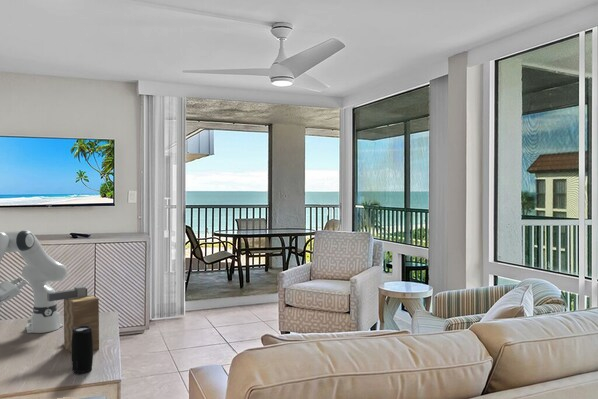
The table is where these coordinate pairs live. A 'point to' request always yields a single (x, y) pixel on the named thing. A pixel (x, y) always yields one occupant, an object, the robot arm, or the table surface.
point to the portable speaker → (82, 349)
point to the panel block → (81, 318)
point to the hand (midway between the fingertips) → (23, 280)
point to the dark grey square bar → (67, 294)
